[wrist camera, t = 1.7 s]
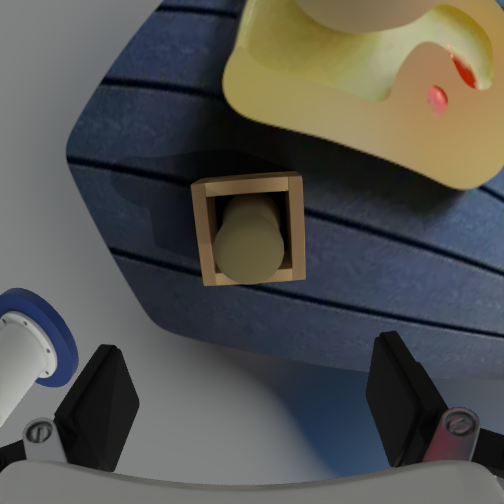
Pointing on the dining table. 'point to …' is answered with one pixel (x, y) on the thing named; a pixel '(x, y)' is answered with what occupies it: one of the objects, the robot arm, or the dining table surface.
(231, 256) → the olive rounded figure
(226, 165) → the dining table surface
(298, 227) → the frame
